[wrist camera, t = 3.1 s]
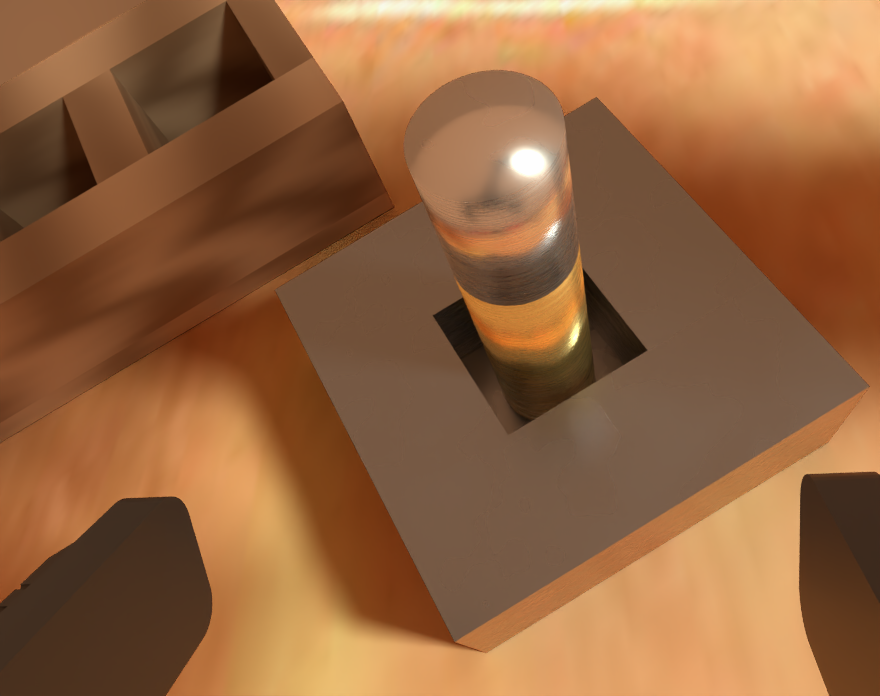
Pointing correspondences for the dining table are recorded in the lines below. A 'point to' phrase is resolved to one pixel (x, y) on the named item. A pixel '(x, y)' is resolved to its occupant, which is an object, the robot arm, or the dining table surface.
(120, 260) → the vial rack
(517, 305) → the gold clear cylinder
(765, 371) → the socket block
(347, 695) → the dining table surface
